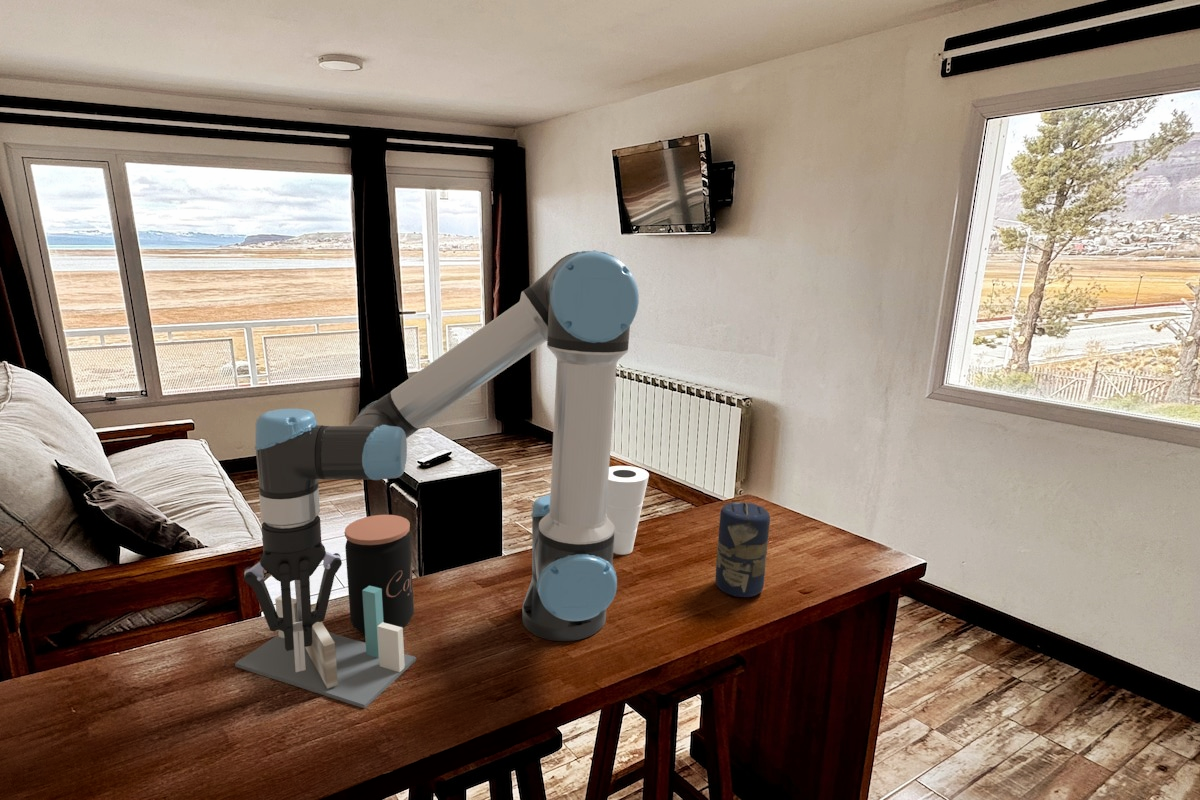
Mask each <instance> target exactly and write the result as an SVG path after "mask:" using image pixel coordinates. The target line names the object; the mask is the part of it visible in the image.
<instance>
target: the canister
mask: <svg viewBox="0 0 1200 800" xmlns="http://www.w3.org/2000/svg"><path fill="white" fill-rule="evenodd" d="M770 523H771V515H770V513H769V512H768V510H767V509H765V508H764V507H763V506H761V505H758V504H755V503H750V502H745V501H744V502H742V501H739V502H738V501H736V502H734V501H733V502H730V503H726V504H725V505H723V506H722V508H721V510H720V513H719V523H718V524H719V525H718V537H717V538H718V539H717V548H716V549H717V550H716V565H715V566H716V567H715V575H714V576H715V577H714V579H715V584H716V586H717V588H719V590H720V591H722V592H723V593H726V594H727V595H730V596H733V597H739V598H750V597H755V596H757V595H758V594H760V593H762V591H763V589H764V585H765V576H766V573H765V572H766V566H767V554H768V544H769V543H768V542H769V531H770Z"/></svg>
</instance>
